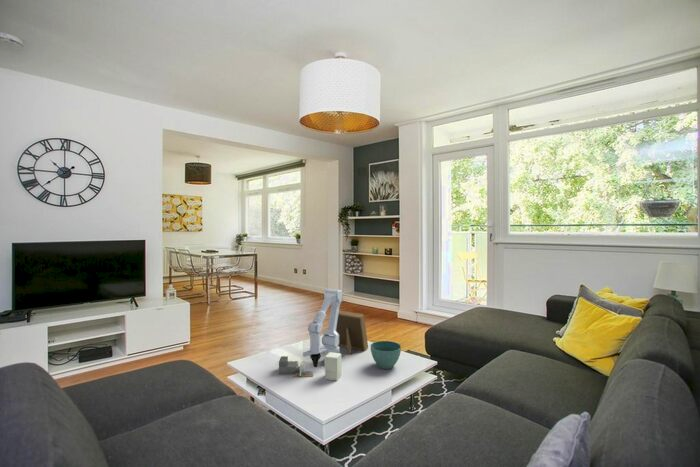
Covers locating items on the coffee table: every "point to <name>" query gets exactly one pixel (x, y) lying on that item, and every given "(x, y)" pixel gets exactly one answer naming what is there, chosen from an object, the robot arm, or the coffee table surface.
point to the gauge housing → (287, 366)
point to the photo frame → (352, 331)
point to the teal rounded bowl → (385, 353)
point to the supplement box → (333, 366)
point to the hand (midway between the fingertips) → (315, 366)
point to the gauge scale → (303, 375)
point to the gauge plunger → (301, 367)
